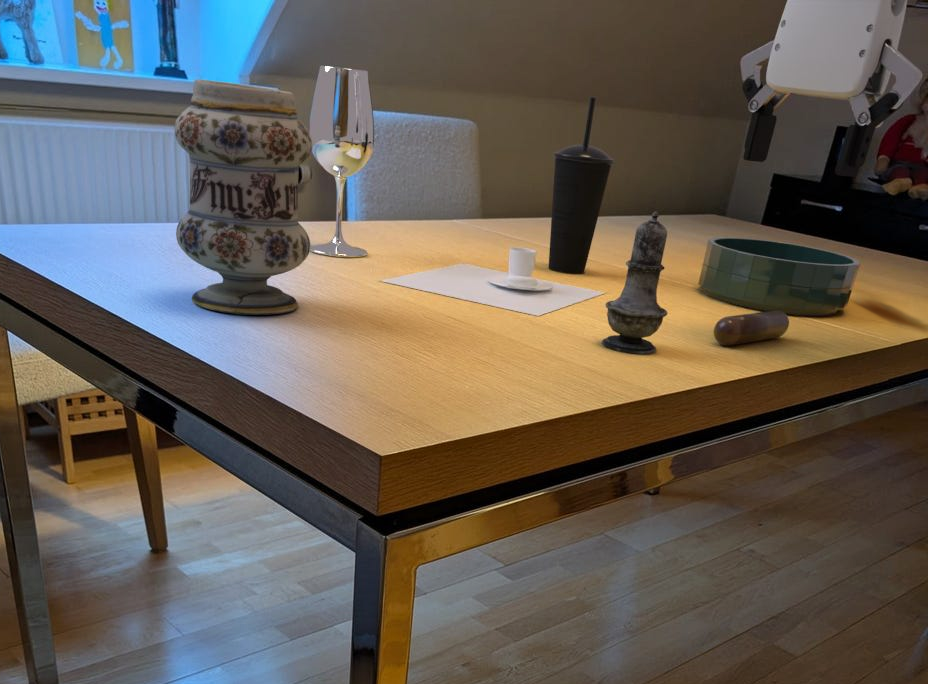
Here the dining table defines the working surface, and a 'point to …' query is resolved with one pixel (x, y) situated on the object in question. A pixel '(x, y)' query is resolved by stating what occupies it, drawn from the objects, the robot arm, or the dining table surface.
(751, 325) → the stick
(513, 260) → the teacup and saucer
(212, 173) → the apothecary jar
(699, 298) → the dining table surface
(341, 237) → the wineglass
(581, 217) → the drinking cup
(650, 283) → the salt shaker
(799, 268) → the bowl
